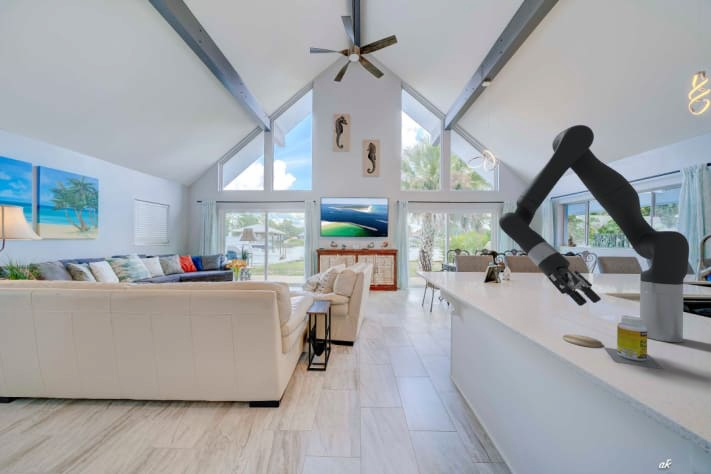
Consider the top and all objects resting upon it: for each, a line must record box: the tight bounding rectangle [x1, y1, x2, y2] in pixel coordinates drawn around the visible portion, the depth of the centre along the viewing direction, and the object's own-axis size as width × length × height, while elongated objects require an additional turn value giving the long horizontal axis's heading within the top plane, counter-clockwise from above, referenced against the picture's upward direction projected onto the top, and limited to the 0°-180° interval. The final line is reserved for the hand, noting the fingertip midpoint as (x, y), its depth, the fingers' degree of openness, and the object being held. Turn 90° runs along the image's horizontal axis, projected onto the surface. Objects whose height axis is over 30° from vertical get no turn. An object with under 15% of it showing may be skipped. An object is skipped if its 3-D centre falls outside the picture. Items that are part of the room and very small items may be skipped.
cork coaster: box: [562, 334, 603, 348], centre depth 85 cm, size 9×9×1 cm
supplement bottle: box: [616, 315, 648, 361], centre depth 74 cm, size 6×6×10 cm
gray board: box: [603, 346, 666, 372], centre depth 74 cm, size 11×9×1 cm
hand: (591, 302), depth 81 cm, fingers open, 8 cm apart
